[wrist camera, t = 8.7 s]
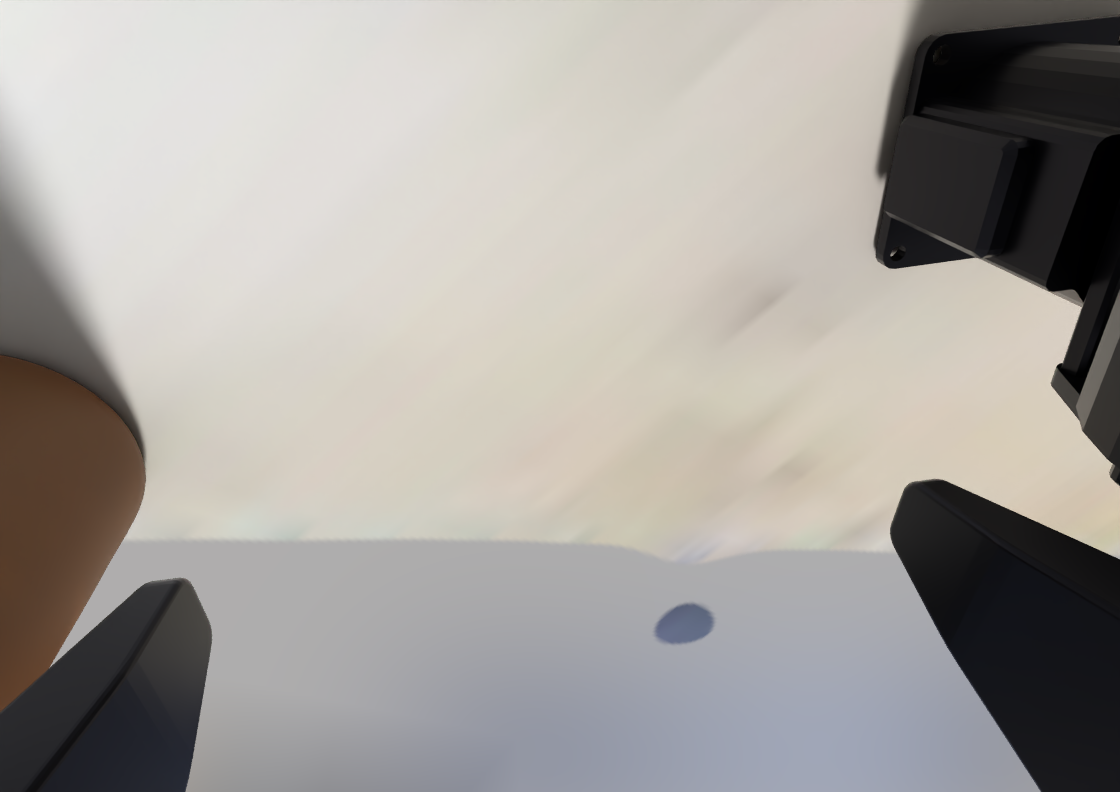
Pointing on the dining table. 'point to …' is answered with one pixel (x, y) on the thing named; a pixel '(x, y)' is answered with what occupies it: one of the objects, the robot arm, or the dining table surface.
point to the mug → (56, 511)
